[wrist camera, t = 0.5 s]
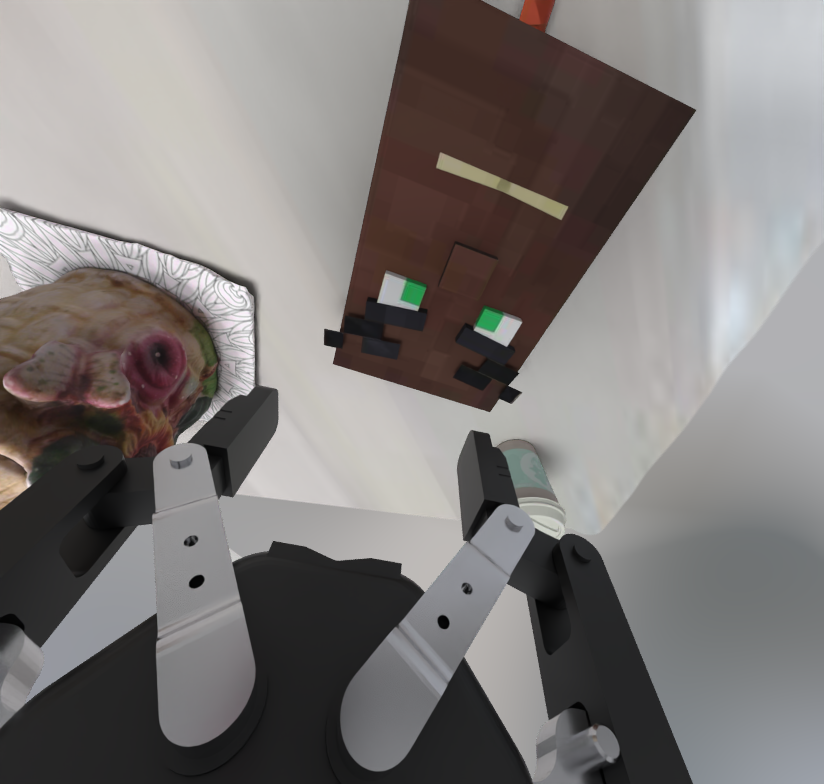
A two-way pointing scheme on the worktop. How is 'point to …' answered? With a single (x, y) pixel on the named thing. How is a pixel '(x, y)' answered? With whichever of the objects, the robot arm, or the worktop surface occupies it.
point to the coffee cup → (534, 488)
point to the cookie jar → (109, 347)
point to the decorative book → (490, 196)
